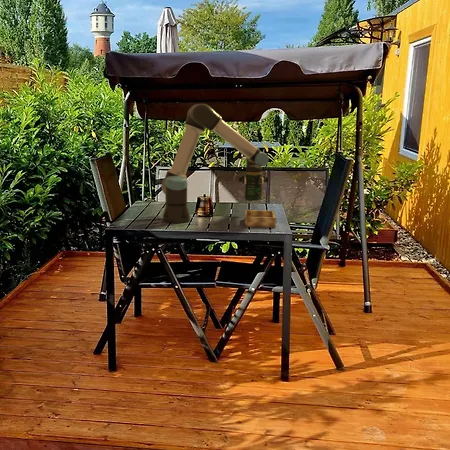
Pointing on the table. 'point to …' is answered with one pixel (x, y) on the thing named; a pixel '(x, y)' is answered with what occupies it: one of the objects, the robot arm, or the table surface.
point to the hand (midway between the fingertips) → (254, 181)
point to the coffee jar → (253, 183)
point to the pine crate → (260, 218)
